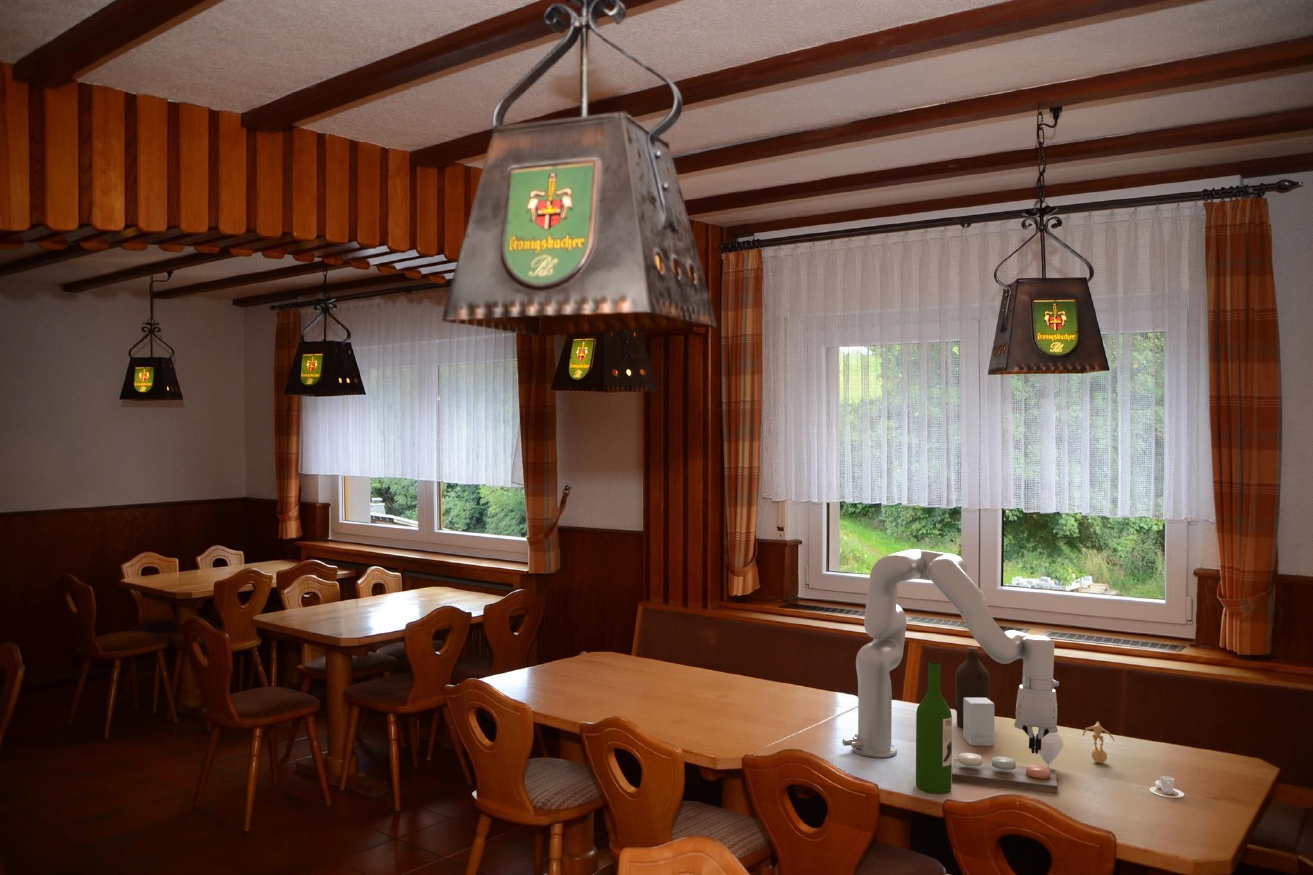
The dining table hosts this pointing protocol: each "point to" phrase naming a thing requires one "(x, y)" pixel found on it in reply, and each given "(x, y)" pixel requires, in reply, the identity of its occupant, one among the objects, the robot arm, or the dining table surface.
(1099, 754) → the figurine
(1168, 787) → the teacup and saucer
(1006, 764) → the sage button
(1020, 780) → the button board
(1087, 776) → the dining table surface
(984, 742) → the supplement box
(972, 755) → the cream button
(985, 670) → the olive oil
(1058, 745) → the spinning top
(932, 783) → the wine bottle
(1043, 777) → the terracotta button
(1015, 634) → the robot arm
